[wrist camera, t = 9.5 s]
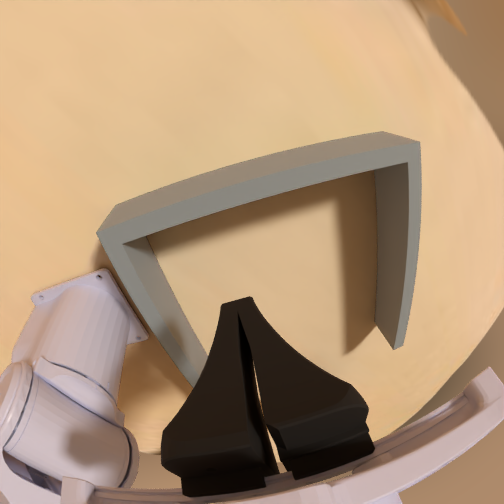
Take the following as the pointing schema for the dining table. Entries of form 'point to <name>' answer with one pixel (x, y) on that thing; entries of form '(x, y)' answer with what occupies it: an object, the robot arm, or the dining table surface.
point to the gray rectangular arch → (258, 187)
